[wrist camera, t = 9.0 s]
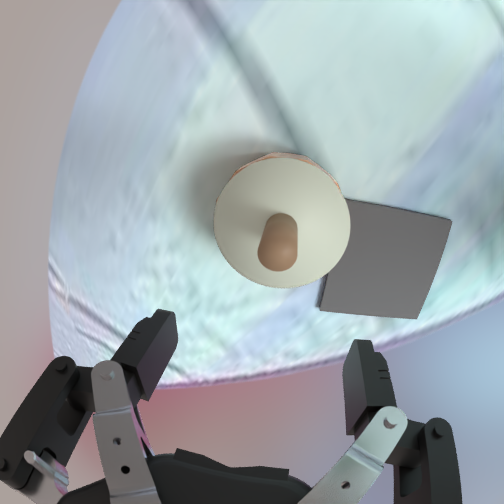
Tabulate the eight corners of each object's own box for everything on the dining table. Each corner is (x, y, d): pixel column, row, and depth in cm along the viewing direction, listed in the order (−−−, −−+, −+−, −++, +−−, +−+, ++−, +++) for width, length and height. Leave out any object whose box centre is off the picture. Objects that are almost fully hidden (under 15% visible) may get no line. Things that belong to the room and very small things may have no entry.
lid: (358, 167, 21) (377, 181, 16) (334, 289, 27) (341, 328, 21) (218, 152, 23) (194, 160, 17) (215, 274, 28) (197, 309, 23)
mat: (450, 219, 26) (452, 221, 26) (415, 316, 32) (416, 319, 32) (342, 198, 28) (343, 200, 27) (319, 307, 34) (319, 310, 33)
